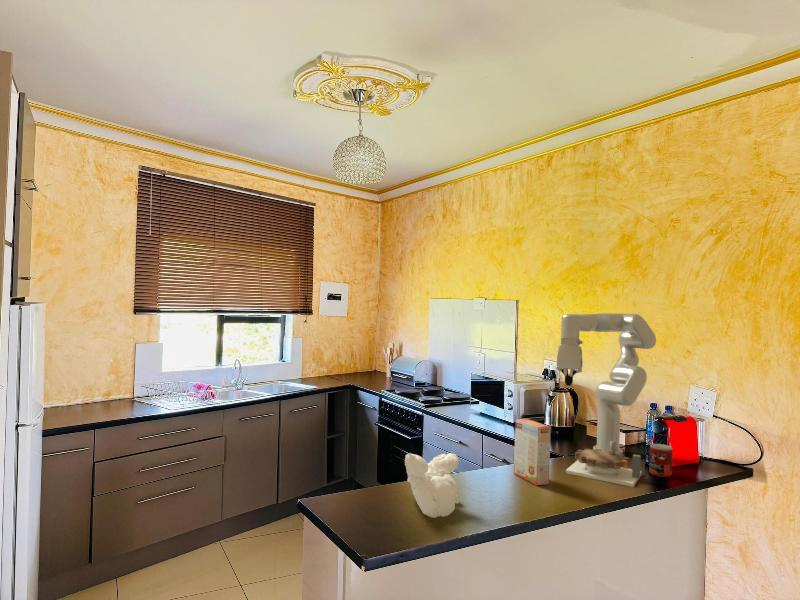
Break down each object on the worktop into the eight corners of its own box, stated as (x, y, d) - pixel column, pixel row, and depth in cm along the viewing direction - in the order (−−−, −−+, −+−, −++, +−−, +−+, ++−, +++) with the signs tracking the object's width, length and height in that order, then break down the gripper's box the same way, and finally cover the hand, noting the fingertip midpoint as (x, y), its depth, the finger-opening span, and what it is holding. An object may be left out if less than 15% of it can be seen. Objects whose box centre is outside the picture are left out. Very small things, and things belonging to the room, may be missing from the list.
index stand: (578, 462, 210) (579, 439, 210) (643, 474, 196) (644, 450, 196) (565, 473, 194) (566, 449, 194) (635, 487, 180) (636, 461, 180)
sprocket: (615, 455, 205) (616, 437, 206) (637, 470, 186) (637, 450, 186) (568, 453, 206) (569, 435, 206) (585, 468, 186) (586, 447, 187)
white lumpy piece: (434, 495, 139) (405, 442, 154) (409, 542, 147) (384, 487, 162) (486, 489, 149) (454, 439, 164) (459, 533, 157) (431, 482, 172)
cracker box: (550, 485, 179) (551, 426, 180) (536, 486, 177) (537, 427, 178) (526, 472, 192) (528, 418, 193) (513, 474, 190) (514, 418, 191)
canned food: (644, 471, 200) (645, 444, 200) (660, 470, 202) (661, 443, 203) (660, 478, 193) (660, 449, 193) (676, 476, 195) (677, 448, 195)
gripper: (590, 343, 216) (588, 386, 216) (555, 341, 225) (553, 382, 224) (585, 344, 210) (584, 388, 210) (550, 341, 218) (548, 384, 218)
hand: (568, 385), depth 217 cm, fingers closed
